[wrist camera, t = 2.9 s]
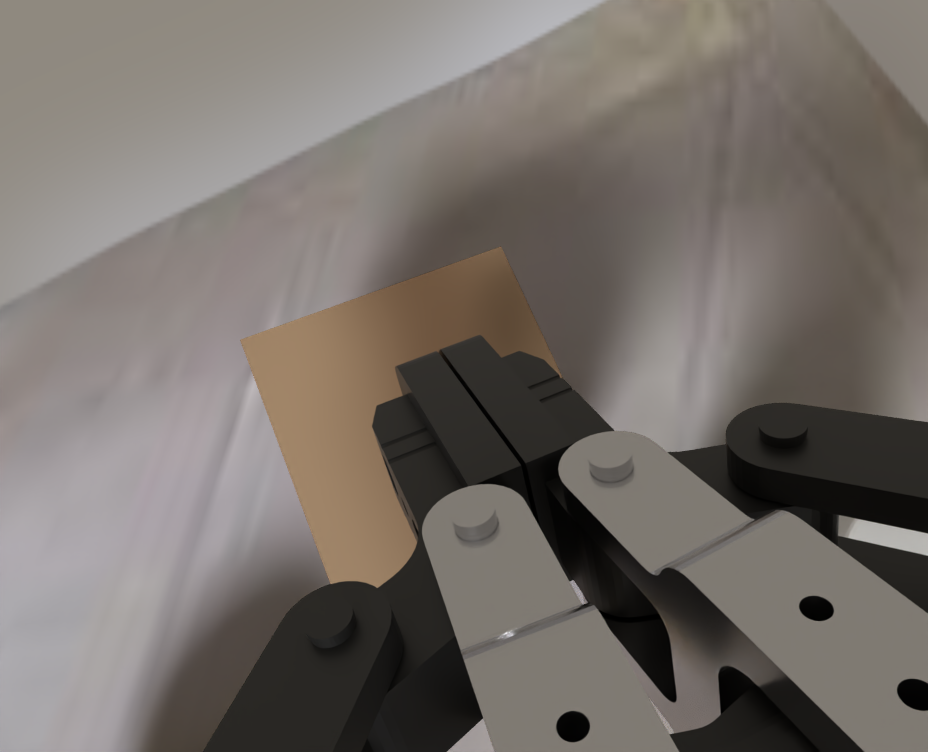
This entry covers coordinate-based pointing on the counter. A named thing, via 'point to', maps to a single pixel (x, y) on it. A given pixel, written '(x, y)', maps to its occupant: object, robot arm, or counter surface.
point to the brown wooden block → (373, 397)
